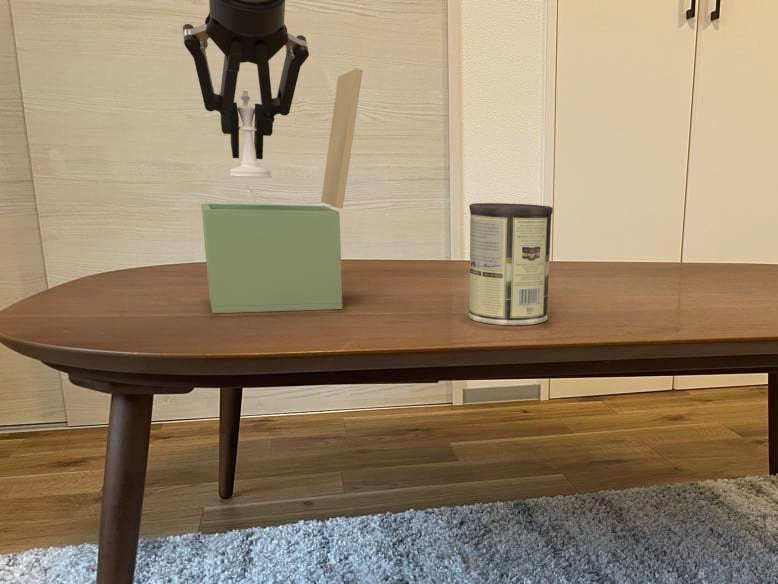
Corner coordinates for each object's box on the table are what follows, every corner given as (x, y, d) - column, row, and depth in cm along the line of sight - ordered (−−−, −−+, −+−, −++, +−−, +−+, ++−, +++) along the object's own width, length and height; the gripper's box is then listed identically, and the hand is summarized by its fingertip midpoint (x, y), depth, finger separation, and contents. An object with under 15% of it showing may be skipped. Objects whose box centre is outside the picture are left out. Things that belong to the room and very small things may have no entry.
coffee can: (496, 307, 107) (499, 201, 102) (561, 317, 102) (567, 207, 98) (451, 318, 98) (452, 203, 94) (520, 329, 93) (525, 209, 89)
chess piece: (277, 177, 99) (272, 93, 96) (263, 177, 95) (257, 89, 92) (238, 175, 99) (233, 91, 96) (223, 175, 95) (216, 87, 92)
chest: (212, 313, 94) (204, 209, 91) (209, 297, 104) (201, 203, 101) (342, 309, 101) (339, 211, 97) (327, 294, 111) (324, 205, 107)
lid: (355, 68, 93) (362, 70, 93) (338, 76, 103) (344, 77, 103) (335, 207, 97) (342, 208, 97) (320, 201, 107) (327, 202, 107)
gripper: (168, -4, 76) (183, 170, 95) (328, 14, 82) (311, 174, 101) (164, -53, 79) (179, 125, 98) (318, -32, 85) (303, 132, 104)
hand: (246, 150), depth 99 cm, fingers closed on chess piece, 2 cm apart
